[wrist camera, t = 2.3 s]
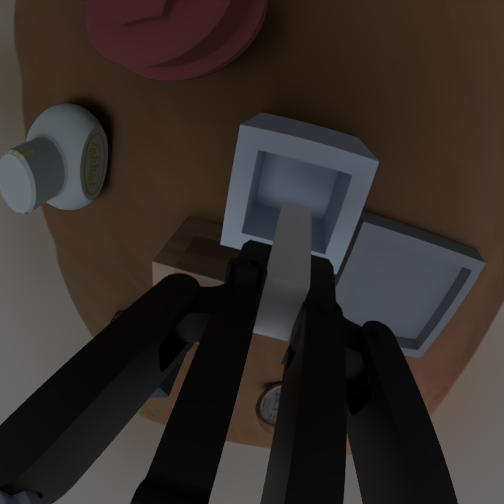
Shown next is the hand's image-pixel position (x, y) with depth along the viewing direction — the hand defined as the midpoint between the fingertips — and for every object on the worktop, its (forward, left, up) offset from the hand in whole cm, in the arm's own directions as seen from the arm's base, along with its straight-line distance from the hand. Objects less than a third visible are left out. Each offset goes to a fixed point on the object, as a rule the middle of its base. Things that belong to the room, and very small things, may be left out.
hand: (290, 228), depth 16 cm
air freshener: (+2, -22, -11) cm, 24 cm away
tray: (+9, +13, -10) cm, 19 cm away
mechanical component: (-11, -9, -11) cm, 18 cm away
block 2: (0, 0, -10) cm, 10 cm away
